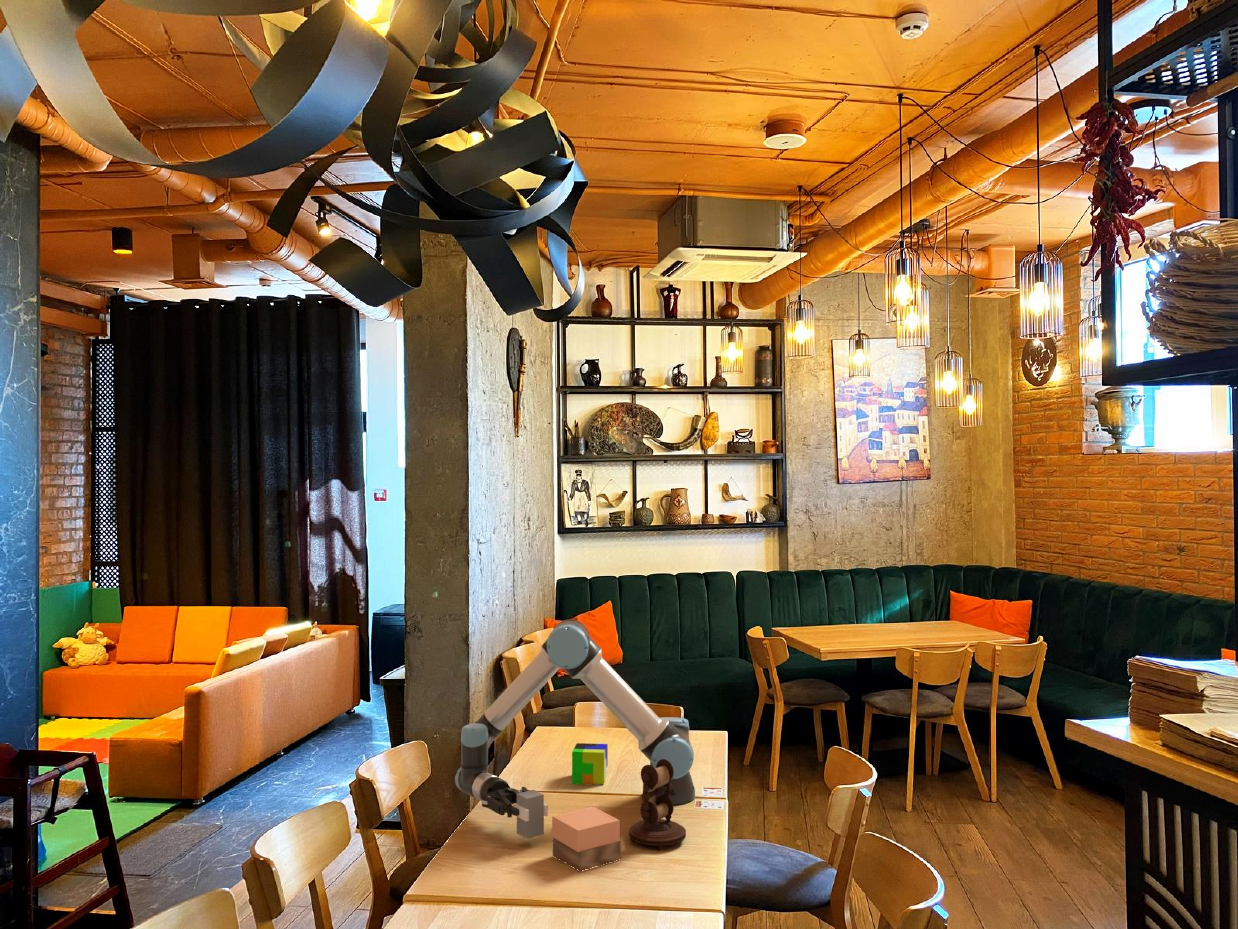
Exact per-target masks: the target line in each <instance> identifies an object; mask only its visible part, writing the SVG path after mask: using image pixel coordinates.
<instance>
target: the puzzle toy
mask: <svg viewBox="0 0 1238 929" xmlns="http://www.w3.org/2000/svg"><path fill="white" fill-rule="evenodd" d="M608 751H609V750H608V743H585V742H584V743H583V742H582V743H579V742H577V743H576V744H575V745H574V747H573V749H572V752H571V785H583V784H604V783H605V784H606V781H607V778H608V775H607V773H608V774H609V772H608V770H609V769H608V765H609V763H608V759H609V758H608V754H609V753H608ZM606 777H607V778H606ZM605 780H606V781H605ZM605 784H604V785H605Z"/></svg>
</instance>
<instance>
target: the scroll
mask: <svg viewBox="0 0 1238 929" xmlns="http://www.w3.org/2000/svg"><path fill="white" fill-rule="evenodd" d="M673 774H674V770H673V766H672V764H671V763H670V762H669V761H668V760H666V759H661V760H659V761H658V763H657V765H656V768H654V767H653V766H651V765H650V764H646V765H643V766H642V768H641V771H640V779H641V781H642V794H641V804H640V817H641V819H642V820H640V821H638V822H635V824H633V825H631V826H630V827H629V828H628V837H629V841H630V842H635V843H639V844H641V845H644V846H645V845H647V846H658V848H659V850H660V851H661V850H662V851H663V849H664V846H670V845H671V846H672V845H674V844H679V843H680V842H683V841H684V840H685V839H686V836H687V830H686V828H685V827H684V826H683V825H682V824H680V823H678V822H676V821H673V820H671V819H672V815H673V813H674V805H673V803H672V801H671V796H670V792H671V790H672V784H671V783H670V782H671V779H672V777H673ZM662 785H664V786H662ZM660 786H662V787H661V788H657V787H660ZM662 792H666V795H660V796H659V797H658V798H657V800H656V803H655V796H656V795H659V794H661V793H662ZM664 818H665V819H664Z"/></svg>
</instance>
